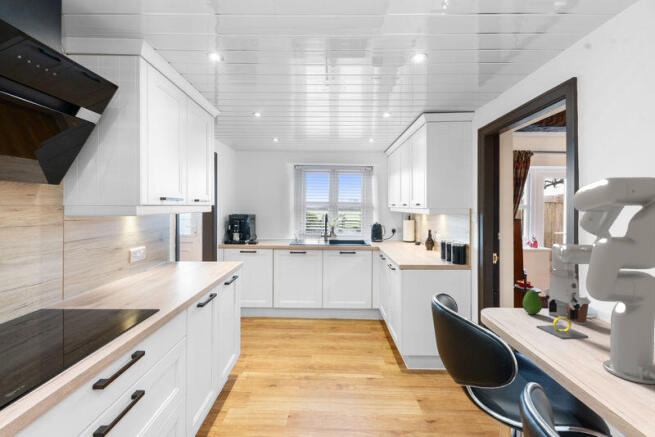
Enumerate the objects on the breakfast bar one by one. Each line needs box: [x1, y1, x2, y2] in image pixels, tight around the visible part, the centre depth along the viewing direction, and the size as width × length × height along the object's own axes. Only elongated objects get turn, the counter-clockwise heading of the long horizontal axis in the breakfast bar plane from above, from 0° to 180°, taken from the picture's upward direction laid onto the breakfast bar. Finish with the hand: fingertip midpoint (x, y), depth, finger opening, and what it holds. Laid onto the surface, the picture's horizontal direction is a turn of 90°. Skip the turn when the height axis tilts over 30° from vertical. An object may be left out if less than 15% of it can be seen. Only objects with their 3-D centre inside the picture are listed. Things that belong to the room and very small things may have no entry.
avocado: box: [522, 289, 543, 315], centre depth 151 cm, size 8×8×12 cm
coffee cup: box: [567, 293, 592, 325], centre depth 141 cm, size 9×9×12 cm
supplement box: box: [548, 301, 568, 319], centre depth 150 cm, size 7×7×13 cm
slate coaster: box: [536, 324, 589, 340], centre depth 128 cm, size 12×12×1 cm
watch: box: [552, 316, 572, 332], centre depth 128 cm, size 6×3×6 cm, turn 80°
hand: (562, 315), depth 127 cm, fingers open, 9 cm apart
